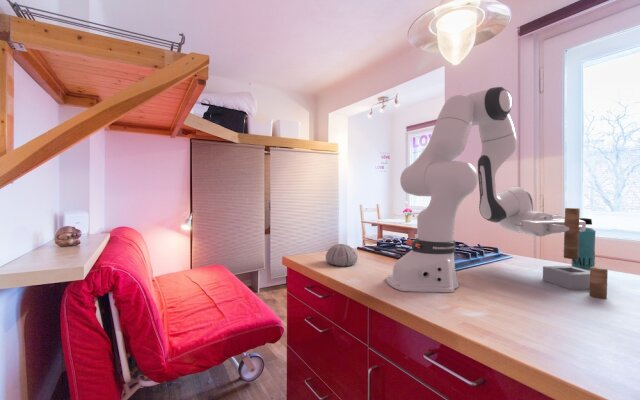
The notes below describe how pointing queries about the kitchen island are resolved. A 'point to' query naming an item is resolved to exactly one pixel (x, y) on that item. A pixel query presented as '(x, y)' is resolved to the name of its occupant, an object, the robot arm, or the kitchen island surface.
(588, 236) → the beverage bottle
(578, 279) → the socket block
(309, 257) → the kitchen island surface
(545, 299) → the kitchen island surface
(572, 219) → the long dowel
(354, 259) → the sea urchin shell
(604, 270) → the short dowel
